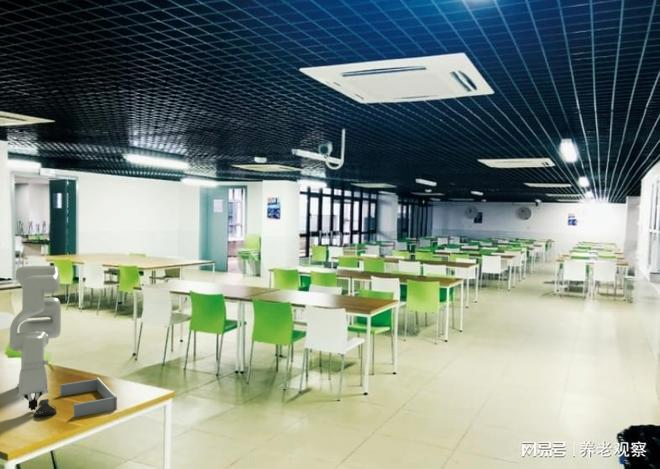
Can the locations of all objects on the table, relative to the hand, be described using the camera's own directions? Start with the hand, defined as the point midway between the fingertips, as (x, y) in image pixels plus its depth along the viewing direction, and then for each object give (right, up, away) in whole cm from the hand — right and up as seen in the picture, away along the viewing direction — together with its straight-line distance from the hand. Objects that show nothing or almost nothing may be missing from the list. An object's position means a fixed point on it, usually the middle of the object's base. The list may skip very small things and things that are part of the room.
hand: (33, 409), depth 209 cm
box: (+17, -1, +13) cm, 21 cm away
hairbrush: (+3, -2, +4) cm, 5 cm away
